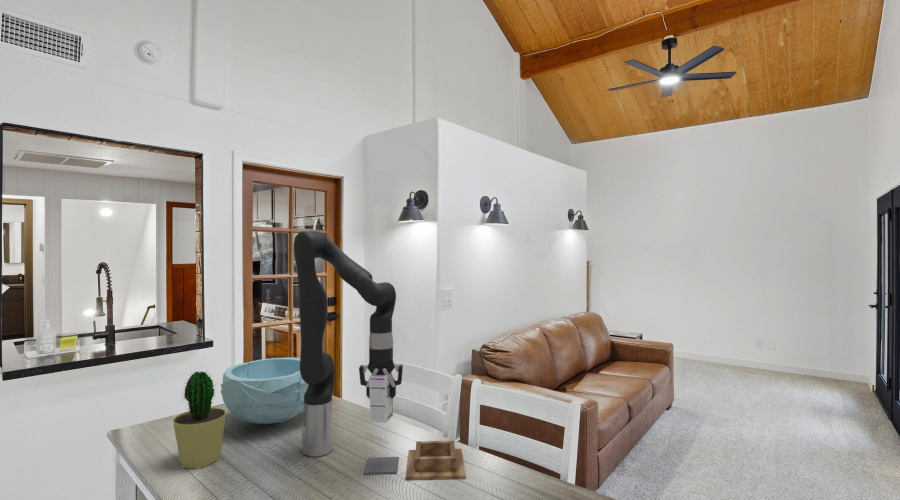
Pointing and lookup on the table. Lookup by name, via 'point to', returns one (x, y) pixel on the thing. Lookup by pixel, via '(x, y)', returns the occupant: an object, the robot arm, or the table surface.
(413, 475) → the collar stand
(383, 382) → the syrup box
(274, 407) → the bowl
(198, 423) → the potted cactus
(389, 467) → the felt pad
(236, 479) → the table surface
